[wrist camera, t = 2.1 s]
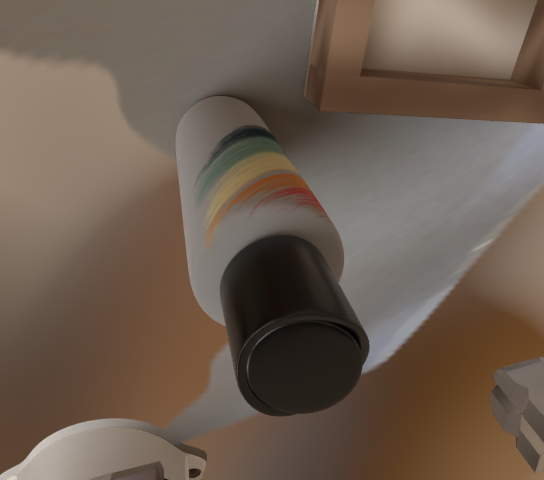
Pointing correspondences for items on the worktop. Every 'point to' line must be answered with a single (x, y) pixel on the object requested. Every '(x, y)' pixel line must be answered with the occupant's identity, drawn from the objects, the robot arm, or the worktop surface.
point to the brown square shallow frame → (429, 58)
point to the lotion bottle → (265, 262)
